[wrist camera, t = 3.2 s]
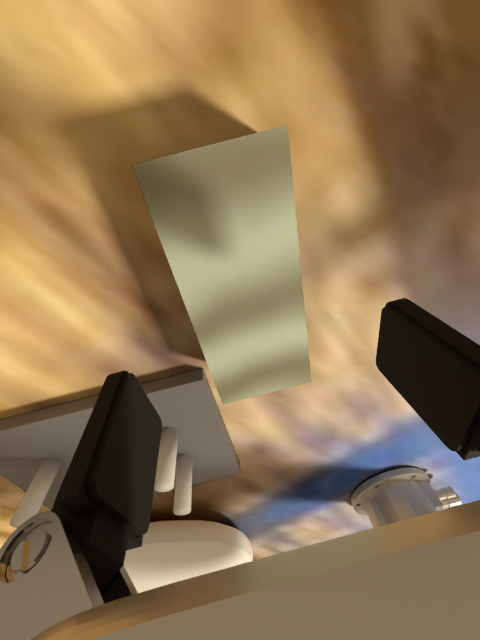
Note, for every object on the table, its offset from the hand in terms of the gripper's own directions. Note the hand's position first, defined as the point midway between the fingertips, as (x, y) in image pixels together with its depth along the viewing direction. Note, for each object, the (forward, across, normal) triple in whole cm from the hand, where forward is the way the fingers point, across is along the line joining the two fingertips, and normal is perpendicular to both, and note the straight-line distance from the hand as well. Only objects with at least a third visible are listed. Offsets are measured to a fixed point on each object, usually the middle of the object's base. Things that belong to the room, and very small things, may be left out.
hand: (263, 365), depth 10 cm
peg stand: (+11, +16, +17) cm, 25 cm away
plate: (+11, +21, +43) cm, 49 cm away
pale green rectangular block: (+11, 0, +1) cm, 11 cm away
